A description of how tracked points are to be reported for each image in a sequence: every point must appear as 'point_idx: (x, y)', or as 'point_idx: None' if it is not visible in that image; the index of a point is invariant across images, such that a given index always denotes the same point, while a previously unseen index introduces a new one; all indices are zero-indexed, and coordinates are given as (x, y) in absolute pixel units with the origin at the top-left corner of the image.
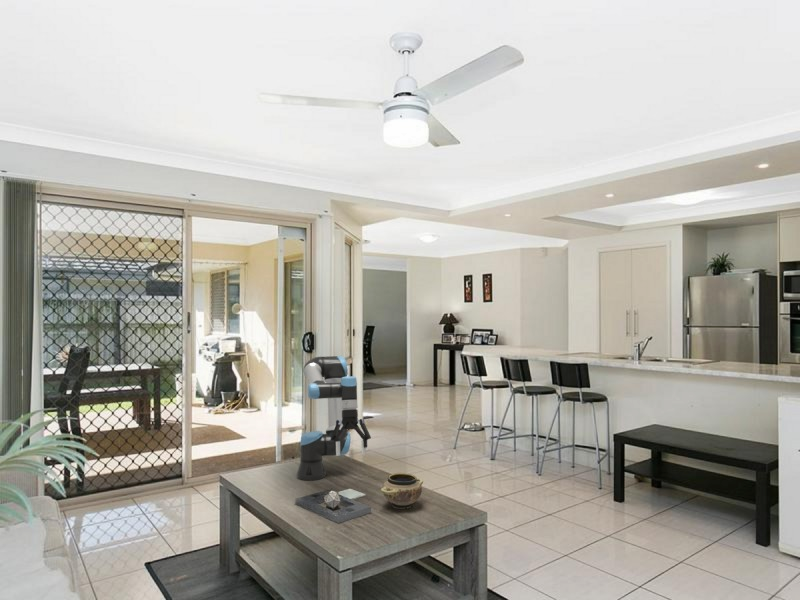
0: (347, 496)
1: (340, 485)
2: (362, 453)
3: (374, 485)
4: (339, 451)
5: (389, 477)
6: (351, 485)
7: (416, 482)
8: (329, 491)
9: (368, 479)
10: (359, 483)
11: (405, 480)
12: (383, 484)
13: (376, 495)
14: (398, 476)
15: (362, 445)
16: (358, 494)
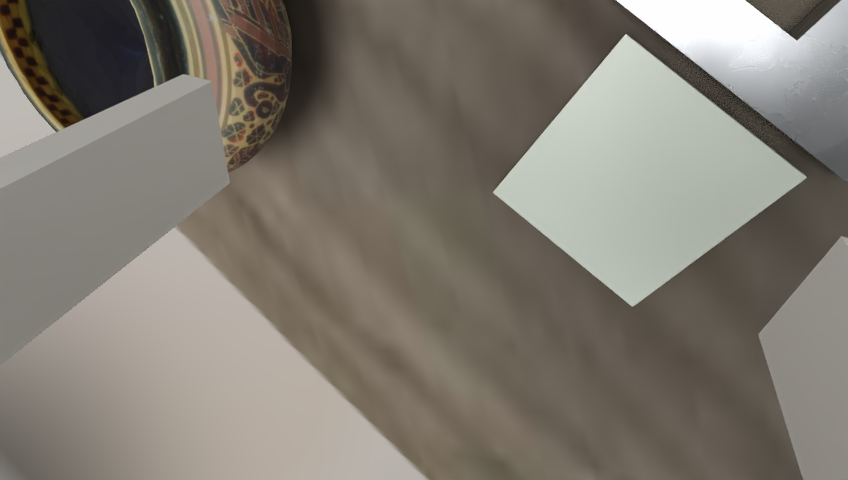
0: (625, 130)
1: (725, 394)
2: (175, 92)
3: (483, 370)
4: (806, 382)
5: (139, 21)
6: (635, 385)
7: (26, 37)
8: (826, 145)
9: (541, 467)
10: (584, 413)
11: (116, 99)
12: (232, 10)
13: (428, 198)
14: None
15: (8, 168)
16: (543, 185)
